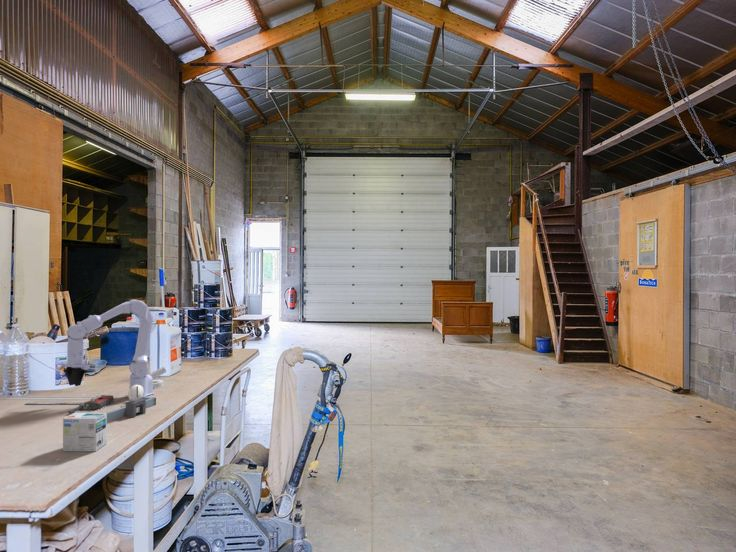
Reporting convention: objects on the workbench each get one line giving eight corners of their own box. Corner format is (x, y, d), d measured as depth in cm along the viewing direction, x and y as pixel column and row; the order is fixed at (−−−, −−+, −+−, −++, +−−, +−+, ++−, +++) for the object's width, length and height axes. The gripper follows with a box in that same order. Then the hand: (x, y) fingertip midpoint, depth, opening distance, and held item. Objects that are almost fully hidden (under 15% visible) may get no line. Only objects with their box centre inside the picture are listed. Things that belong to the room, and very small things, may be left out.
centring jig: (131, 401, 201) (132, 374, 201) (165, 406, 195) (165, 378, 195) (73, 419, 176) (74, 388, 176) (110, 425, 170) (110, 393, 170)
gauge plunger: (124, 409, 186) (124, 404, 186) (139, 411, 184) (139, 406, 184) (120, 410, 184) (120, 405, 184) (135, 413, 182) (135, 408, 182)
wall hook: (168, 367, 226) (146, 370, 220) (168, 387, 226) (146, 390, 220) (164, 364, 233) (142, 367, 227) (163, 383, 233) (142, 386, 227)
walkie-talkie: (96, 401, 201) (66, 415, 181) (96, 391, 201) (66, 404, 181) (116, 401, 201) (88, 416, 181) (116, 391, 201) (88, 405, 181)
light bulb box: (107, 444, 152) (107, 411, 152) (96, 452, 145) (96, 418, 145) (74, 443, 152) (74, 411, 152) (61, 452, 145) (62, 418, 145)
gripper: (54, 353, 193) (53, 385, 193) (79, 356, 188) (78, 389, 188) (69, 350, 199) (69, 381, 200) (94, 353, 195) (94, 385, 195)
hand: (75, 385), depth 194 cm, fingers open, 3 cm apart
